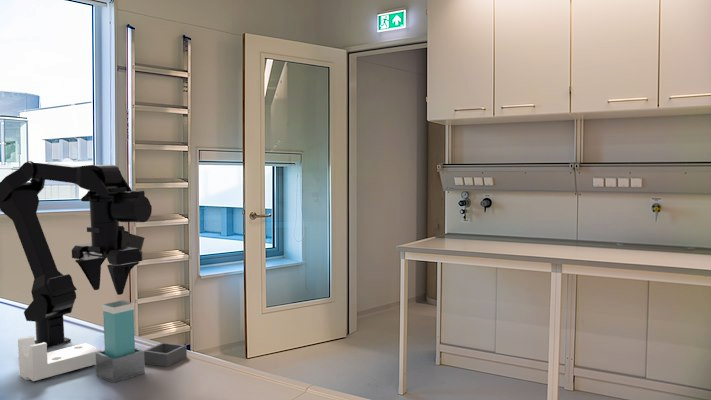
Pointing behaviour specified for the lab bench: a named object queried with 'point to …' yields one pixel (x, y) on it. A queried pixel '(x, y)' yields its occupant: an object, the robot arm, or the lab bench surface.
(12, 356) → the lab bench surface
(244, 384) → the lab bench surface
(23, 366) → the bracket
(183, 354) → the frame
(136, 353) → the box
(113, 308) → the plug
